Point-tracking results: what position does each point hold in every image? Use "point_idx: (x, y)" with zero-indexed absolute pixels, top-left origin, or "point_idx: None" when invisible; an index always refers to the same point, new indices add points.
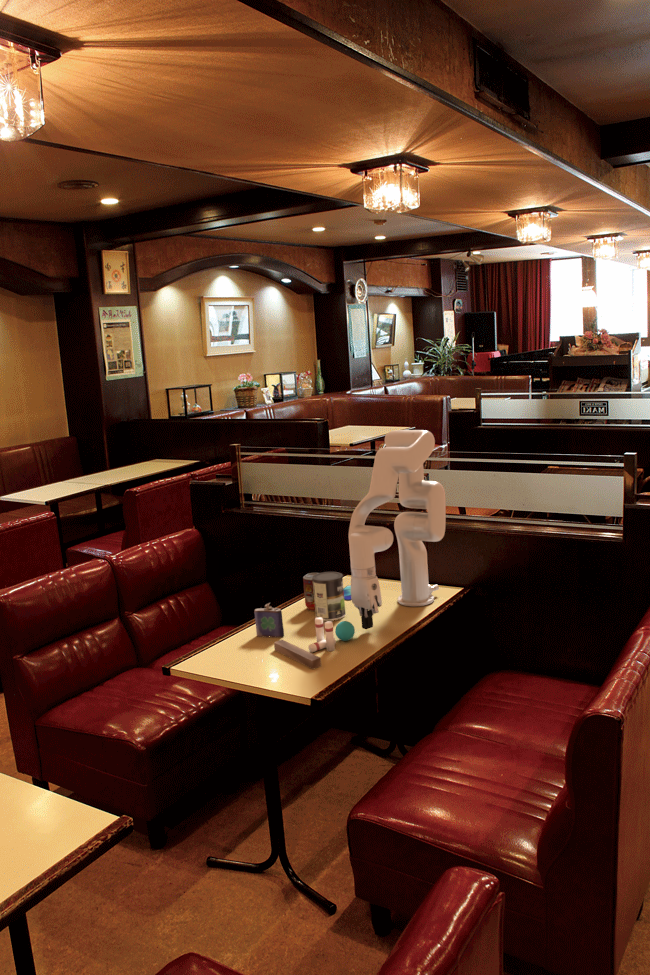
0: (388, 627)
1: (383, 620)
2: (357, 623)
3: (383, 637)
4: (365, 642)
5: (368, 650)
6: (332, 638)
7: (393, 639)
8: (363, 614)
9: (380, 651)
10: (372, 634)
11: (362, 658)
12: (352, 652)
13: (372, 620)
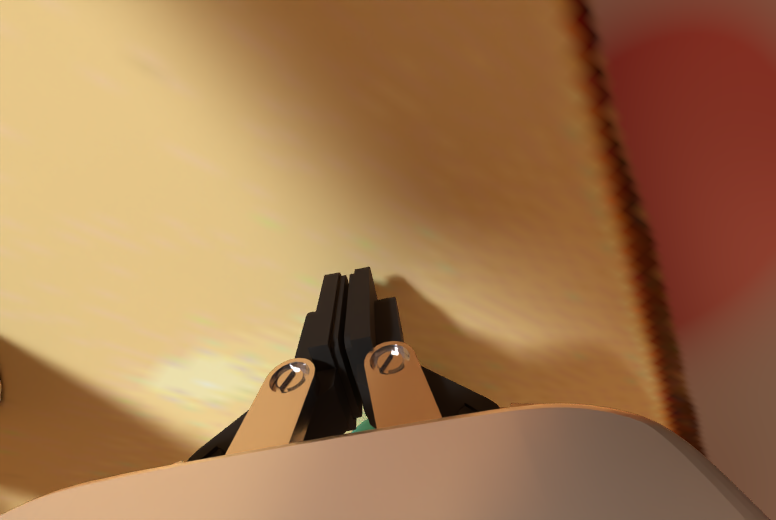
0: (363, 85)
1: (134, 8)
2: (126, 266)
3: (523, 241)
4: (501, 362)
5: (605, 391)
6: None
7: (614, 201)
8: (338, 428)
9: (673, 352)
10: (417, 276)
11: None
12: None
13: (369, 297)
